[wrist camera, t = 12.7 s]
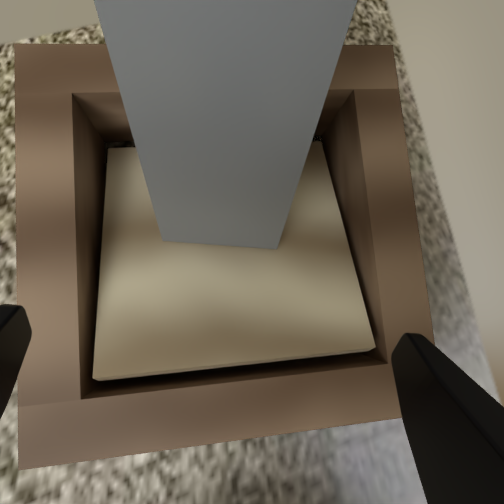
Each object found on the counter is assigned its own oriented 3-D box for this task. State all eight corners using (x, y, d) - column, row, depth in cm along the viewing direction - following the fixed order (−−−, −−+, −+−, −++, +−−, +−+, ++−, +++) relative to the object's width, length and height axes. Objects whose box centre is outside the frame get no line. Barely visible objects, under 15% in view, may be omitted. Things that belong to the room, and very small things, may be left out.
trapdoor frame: (388, 384, 23) (444, 411, 17) (69, 424, 20) (18, 470, 15) (352, 100, 25) (392, 45, 20) (60, 104, 23) (14, 43, 17)
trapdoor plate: (368, 351, 18) (376, 346, 17) (99, 381, 17) (92, 377, 16) (317, 152, 24) (321, 140, 23) (112, 159, 22) (107, 146, 21)
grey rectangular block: (276, 249, 19) (358, -5, 8) (162, 240, 19) (83, -37, 8) (277, 161, 22) (340, -121, 11) (177, 152, 22) (135, -149, 10)
